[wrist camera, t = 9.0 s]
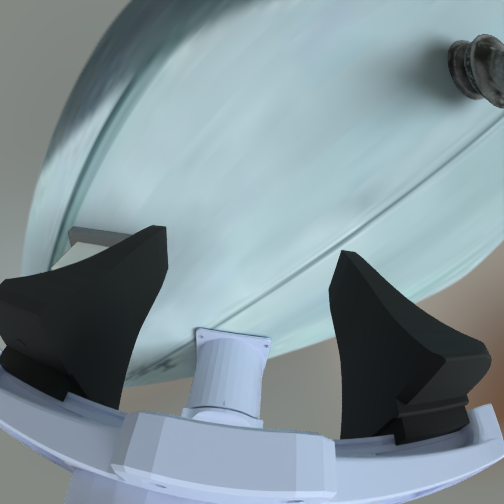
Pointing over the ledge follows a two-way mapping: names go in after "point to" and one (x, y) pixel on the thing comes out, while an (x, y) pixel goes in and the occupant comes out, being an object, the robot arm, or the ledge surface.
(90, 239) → the tower base
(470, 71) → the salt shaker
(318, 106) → the ledge surface
